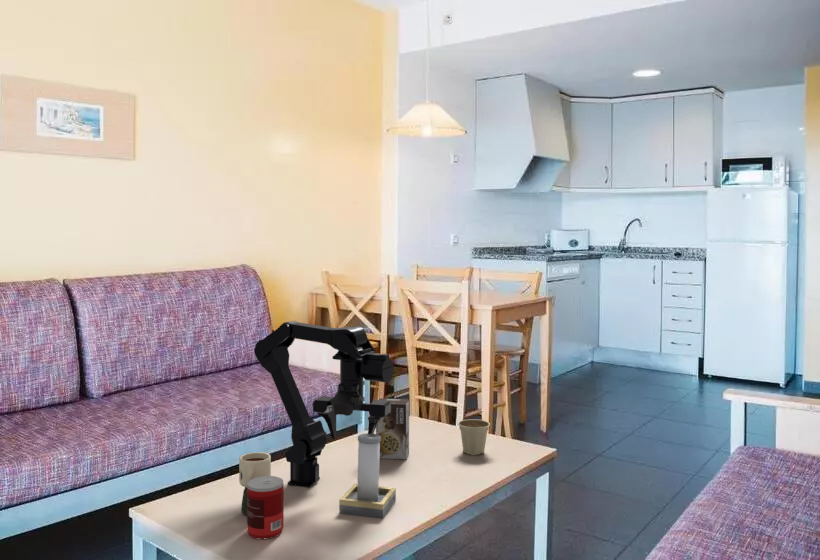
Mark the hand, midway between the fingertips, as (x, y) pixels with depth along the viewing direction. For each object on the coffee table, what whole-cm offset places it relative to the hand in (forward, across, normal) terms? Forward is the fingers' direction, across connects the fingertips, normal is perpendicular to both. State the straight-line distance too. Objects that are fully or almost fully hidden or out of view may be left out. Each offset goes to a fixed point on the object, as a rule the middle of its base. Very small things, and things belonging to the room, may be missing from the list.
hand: (351, 440), depth 174 cm
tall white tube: (+11, +7, -8) cm, 15 cm away
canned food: (+13, -10, -27) cm, 32 cm away
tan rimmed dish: (+13, +7, -8) cm, 17 cm away
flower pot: (+13, +24, +40) cm, 48 cm away
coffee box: (+13, +2, +30) cm, 33 cm away
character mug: (+13, -17, -18) cm, 28 cm away
